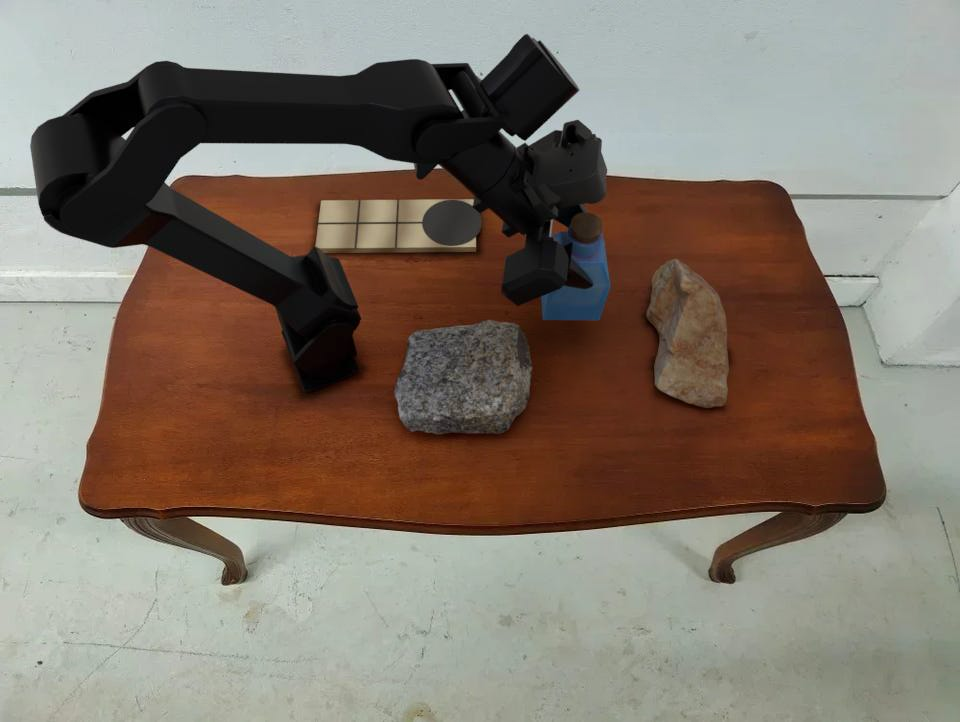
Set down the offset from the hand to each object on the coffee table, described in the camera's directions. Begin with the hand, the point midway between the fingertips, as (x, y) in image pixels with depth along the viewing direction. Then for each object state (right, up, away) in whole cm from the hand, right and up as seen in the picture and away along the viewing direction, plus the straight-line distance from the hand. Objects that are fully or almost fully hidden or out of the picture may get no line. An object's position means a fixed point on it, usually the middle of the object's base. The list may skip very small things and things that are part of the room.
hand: (591, 260), depth 73 cm
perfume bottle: (-2, -3, +6) cm, 7 cm away
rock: (-13, -14, +6) cm, 20 cm away
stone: (+12, -8, +10) cm, 18 cm away
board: (-22, +7, +18) cm, 29 cm away
